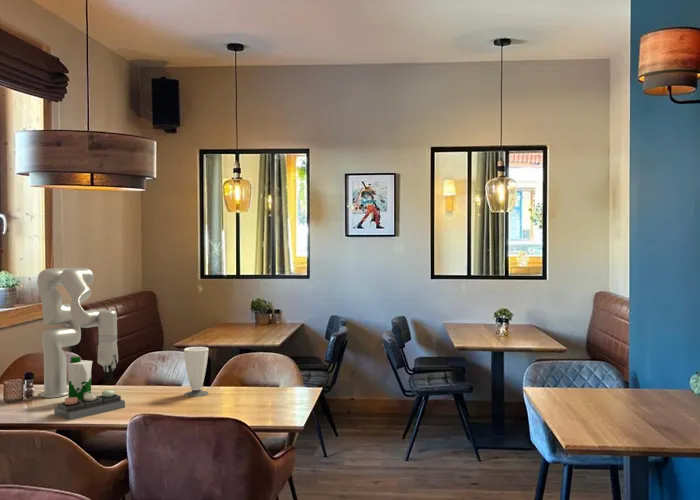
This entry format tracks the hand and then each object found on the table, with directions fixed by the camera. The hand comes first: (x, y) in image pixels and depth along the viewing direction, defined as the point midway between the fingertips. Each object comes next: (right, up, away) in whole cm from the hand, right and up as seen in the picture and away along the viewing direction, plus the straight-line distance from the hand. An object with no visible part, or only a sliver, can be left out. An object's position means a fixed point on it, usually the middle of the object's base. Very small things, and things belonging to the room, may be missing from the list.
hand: (108, 380), depth 258 cm
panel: (-6, -12, -6) cm, 14 cm away
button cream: (-6, -7, -6) cm, 11 cm away
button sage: (0, -7, 0) cm, 7 cm away
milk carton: (-17, -12, +9) cm, 22 cm away
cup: (+33, -12, +22) cm, 41 cm away
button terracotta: (-11, -7, -12) cm, 17 cm away
